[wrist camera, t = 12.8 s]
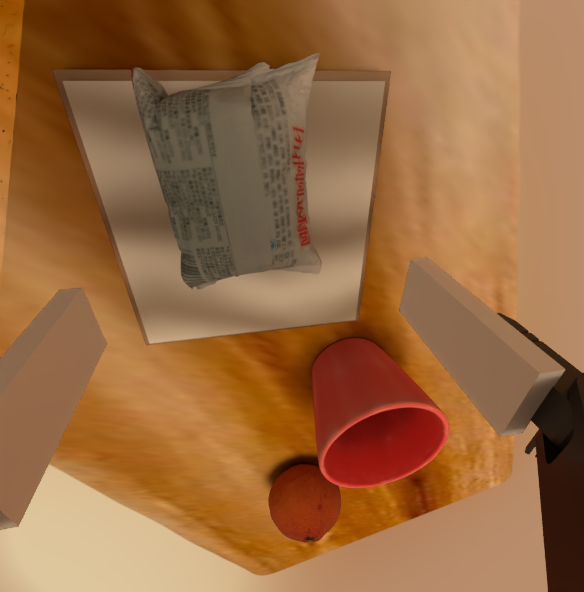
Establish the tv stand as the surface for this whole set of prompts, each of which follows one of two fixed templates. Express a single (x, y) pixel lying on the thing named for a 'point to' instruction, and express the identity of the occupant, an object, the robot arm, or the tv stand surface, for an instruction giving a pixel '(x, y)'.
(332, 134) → the stand
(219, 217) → the packaged food
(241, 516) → the tv stand surface
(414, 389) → the flower pot
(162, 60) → the tv stand surface
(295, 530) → the fruit
